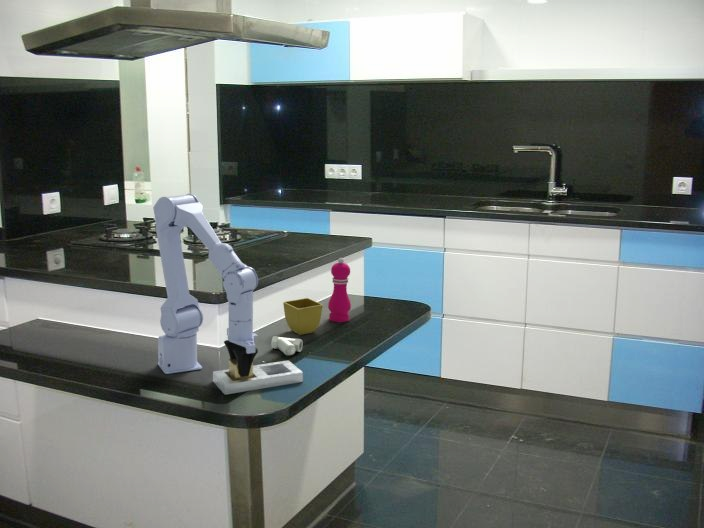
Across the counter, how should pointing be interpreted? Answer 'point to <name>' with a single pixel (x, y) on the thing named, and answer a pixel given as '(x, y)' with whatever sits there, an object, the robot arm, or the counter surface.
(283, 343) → the pipe fitting
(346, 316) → the pepper mill
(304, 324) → the flower pot
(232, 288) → the robot arm
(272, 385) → the white block holder tray
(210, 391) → the counter surface
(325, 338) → the counter surface
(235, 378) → the wooden block
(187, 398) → the counter surface
